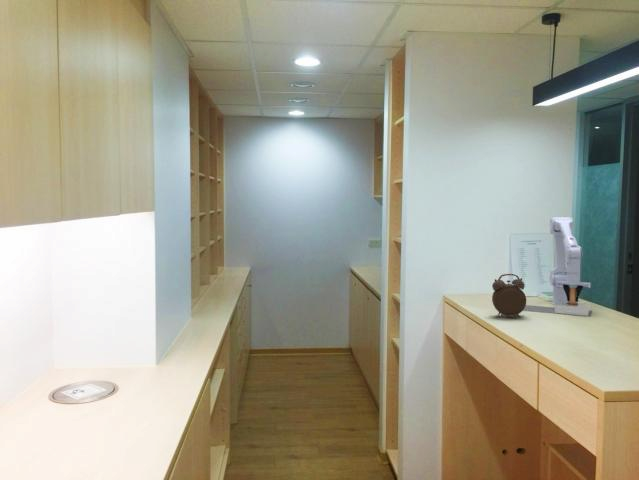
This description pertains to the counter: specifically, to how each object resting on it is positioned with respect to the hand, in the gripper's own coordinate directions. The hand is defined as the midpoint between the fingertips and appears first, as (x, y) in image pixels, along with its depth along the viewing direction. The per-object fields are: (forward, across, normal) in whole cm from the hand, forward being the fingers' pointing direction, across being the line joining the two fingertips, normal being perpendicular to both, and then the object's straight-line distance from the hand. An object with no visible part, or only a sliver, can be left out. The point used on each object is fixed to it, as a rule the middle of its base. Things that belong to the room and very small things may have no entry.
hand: (572, 301), depth 248 cm
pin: (+3, 0, 0) cm, 3 cm away
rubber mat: (+6, -7, 0) cm, 9 cm away
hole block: (+5, 0, 0) cm, 5 cm away
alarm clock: (+6, -25, -21) cm, 33 cm away
